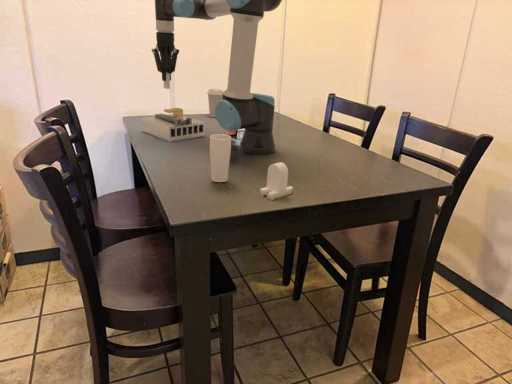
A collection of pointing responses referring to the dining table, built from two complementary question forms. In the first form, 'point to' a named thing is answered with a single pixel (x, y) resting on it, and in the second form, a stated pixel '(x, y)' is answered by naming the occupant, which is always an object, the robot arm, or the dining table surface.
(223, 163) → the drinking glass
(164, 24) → the robot arm
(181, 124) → the strap
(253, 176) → the dining table surface
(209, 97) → the coffee cup
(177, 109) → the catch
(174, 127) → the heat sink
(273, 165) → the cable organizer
